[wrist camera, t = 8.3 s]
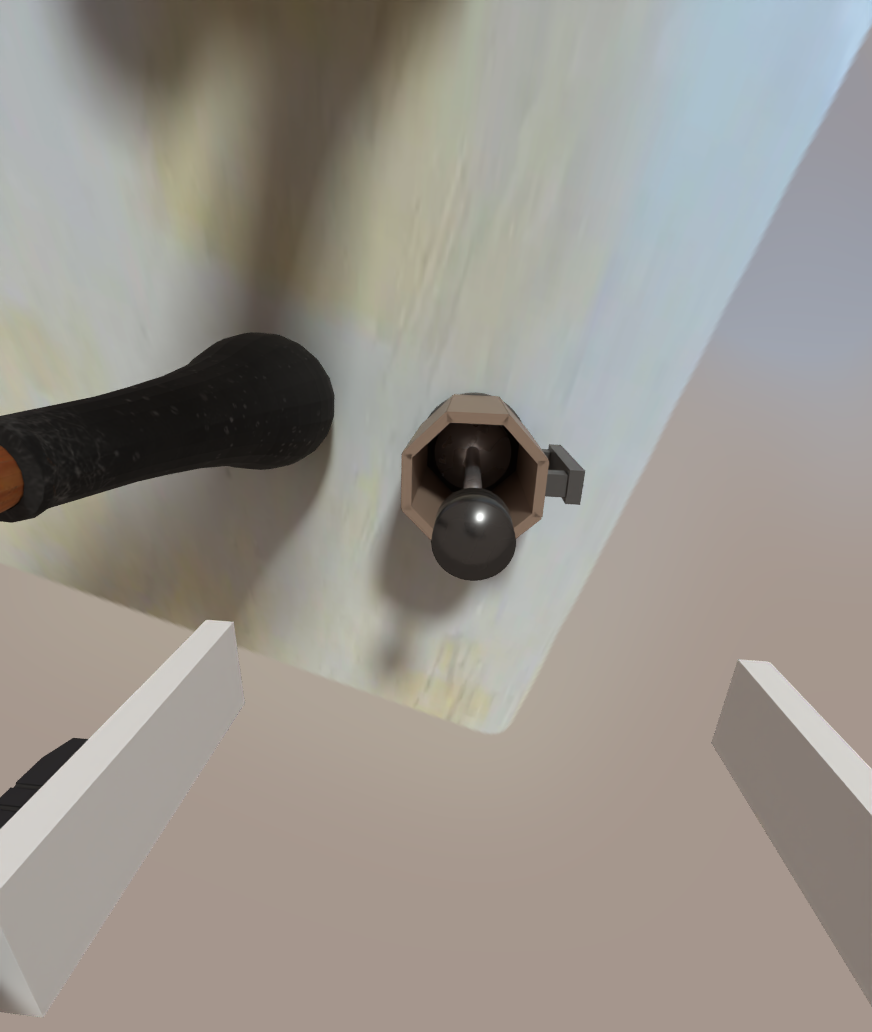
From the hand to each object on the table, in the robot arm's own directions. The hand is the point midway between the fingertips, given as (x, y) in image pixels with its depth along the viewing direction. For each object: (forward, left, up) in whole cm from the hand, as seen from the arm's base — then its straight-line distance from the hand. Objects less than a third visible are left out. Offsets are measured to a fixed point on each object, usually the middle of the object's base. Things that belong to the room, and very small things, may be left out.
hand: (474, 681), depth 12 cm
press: (0, +1, -33) cm, 33 cm away
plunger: (0, 0, -31) cm, 31 cm away
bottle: (-4, -17, -33) cm, 37 cm away
